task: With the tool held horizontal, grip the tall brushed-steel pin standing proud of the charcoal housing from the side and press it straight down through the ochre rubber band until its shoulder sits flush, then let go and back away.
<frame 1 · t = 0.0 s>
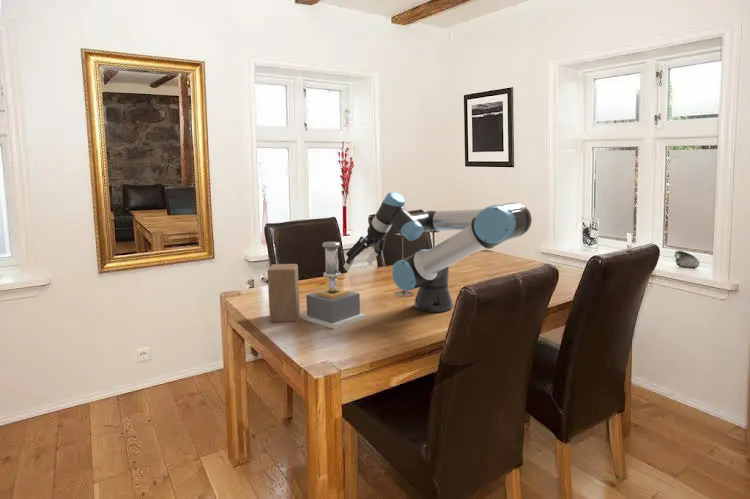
hand: (357, 265, 219), 15 cm above the table, tool tilted 35°, fingers open, 13 cm apart
steel pin: (332, 270, 196), point 19 cm above the table, slide at 6.0 cm
wooden block: (285, 318, 201), on the table
pin housing: (333, 318, 199), on the table
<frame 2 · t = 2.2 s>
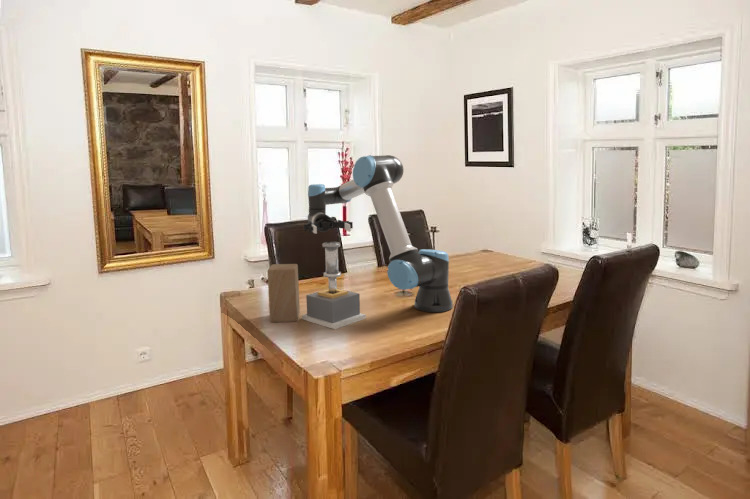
hand: (332, 229, 209), 32 cm above the table, tool horizontal, fingers open, 13 cm apart
nothing on the table moved.
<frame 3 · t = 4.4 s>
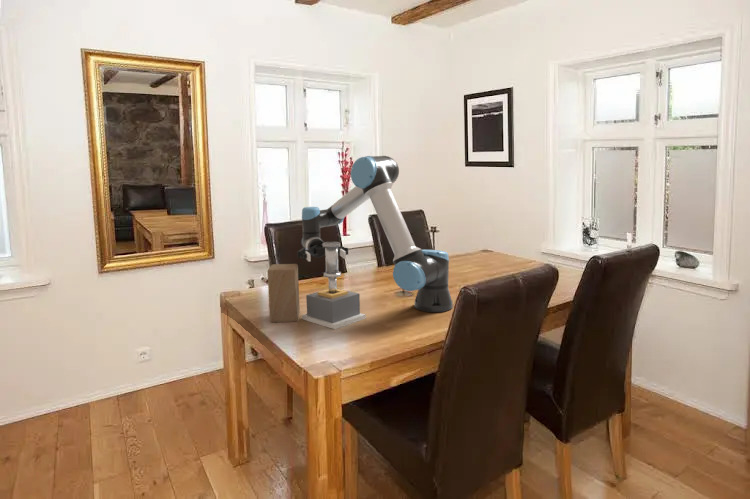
hand: (327, 256, 200), 23 cm above the table, tool horizontal, fingers open, 13 cm apart
nothing on the table moved.
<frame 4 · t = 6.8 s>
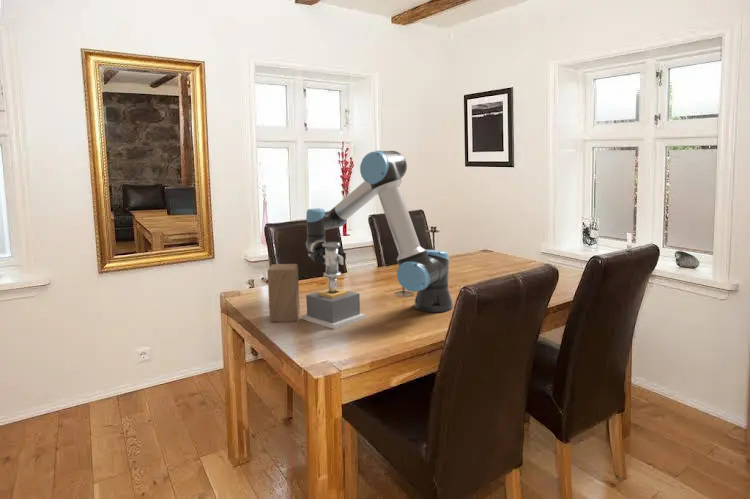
hand: (335, 261, 190), 23 cm above the table, tool horizontal, fingers closed on steel pin, 5 cm apart
steel pin: (332, 270, 196), point 19 cm above the table, slide at 6.0 cm, touching gripper
everything else where it was.
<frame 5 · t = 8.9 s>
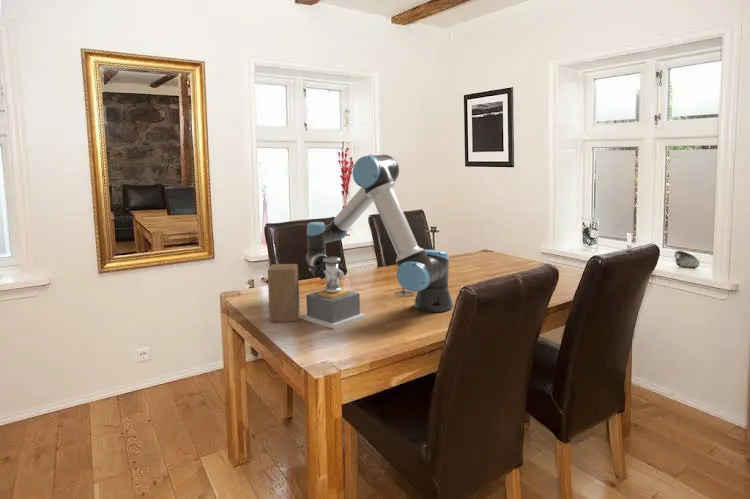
hand: (335, 277, 191), 17 cm above the table, tool horizontal, fingers closed on steel pin, 5 cm apart
steel pin: (332, 285, 197), point 13 cm above the table, slide at 0.3 cm, touching gripper
everything else where it was.
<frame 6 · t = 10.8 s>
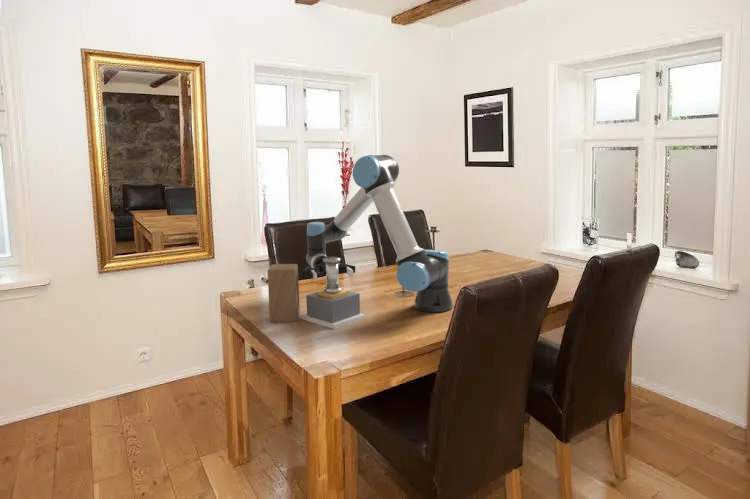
hand: (334, 275, 193), 17 cm above the table, tool horizontal, fingers open, 13 cm apart
steel pin: (332, 285, 197), point 13 cm above the table, slide at 0.3 cm
everything else where it was.
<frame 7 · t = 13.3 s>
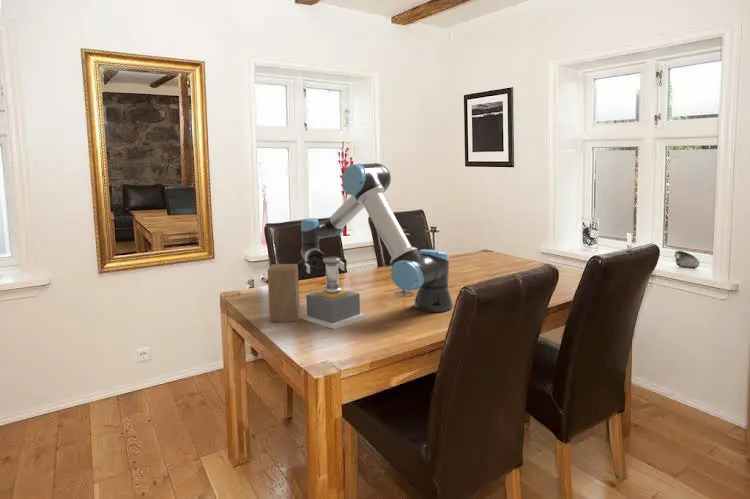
hand: (326, 268, 205), 17 cm above the table, tool horizontal, fingers open, 13 cm apart
nothing on the table moved.
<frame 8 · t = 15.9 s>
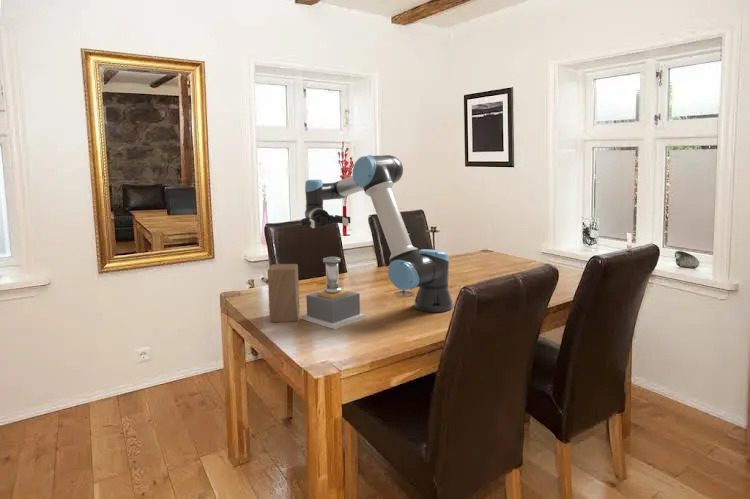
hand: (330, 223, 208), 34 cm above the table, tool horizontal, fingers open, 13 cm apart
nothing on the table moved.
at the end: steel pin slide at 0.3 cm; the gripper is holding nothing; wooden block moved 0.2 cm from its start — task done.
